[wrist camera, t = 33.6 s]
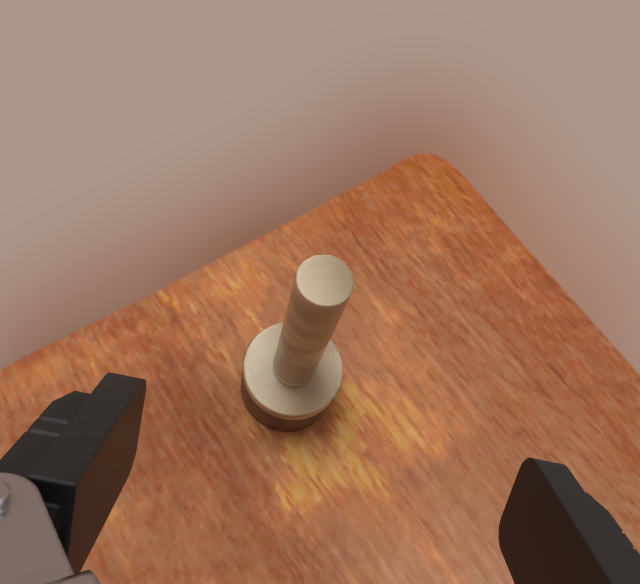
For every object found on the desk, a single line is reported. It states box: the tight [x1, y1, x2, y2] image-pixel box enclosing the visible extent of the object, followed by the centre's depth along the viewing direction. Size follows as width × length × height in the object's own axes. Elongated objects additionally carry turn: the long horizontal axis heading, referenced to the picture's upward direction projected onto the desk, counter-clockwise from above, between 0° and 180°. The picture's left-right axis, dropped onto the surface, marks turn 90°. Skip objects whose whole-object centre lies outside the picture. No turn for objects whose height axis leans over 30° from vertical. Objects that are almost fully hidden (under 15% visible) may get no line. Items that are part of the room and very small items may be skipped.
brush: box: [241, 255, 354, 431], centre depth 30 cm, size 6×6×14 cm
